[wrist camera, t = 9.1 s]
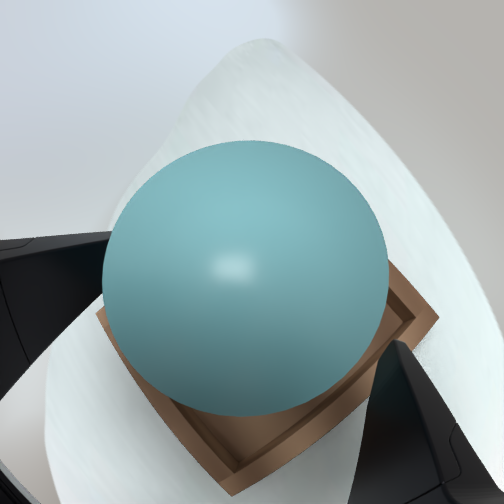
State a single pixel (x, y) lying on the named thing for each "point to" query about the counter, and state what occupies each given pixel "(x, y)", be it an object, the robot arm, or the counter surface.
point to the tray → (291, 420)
